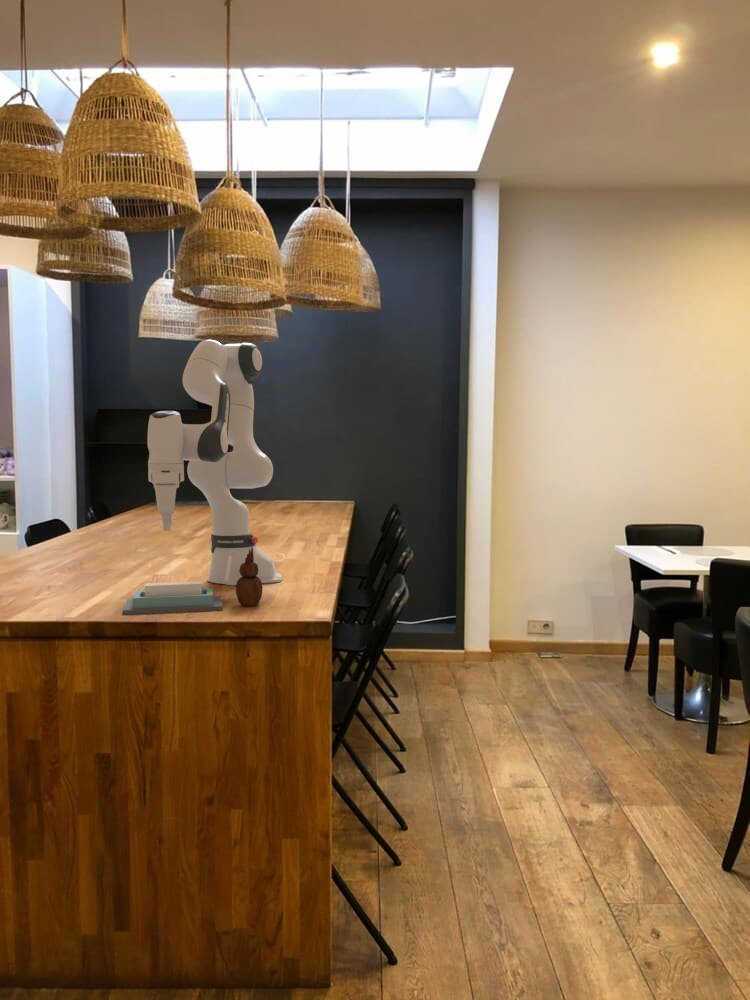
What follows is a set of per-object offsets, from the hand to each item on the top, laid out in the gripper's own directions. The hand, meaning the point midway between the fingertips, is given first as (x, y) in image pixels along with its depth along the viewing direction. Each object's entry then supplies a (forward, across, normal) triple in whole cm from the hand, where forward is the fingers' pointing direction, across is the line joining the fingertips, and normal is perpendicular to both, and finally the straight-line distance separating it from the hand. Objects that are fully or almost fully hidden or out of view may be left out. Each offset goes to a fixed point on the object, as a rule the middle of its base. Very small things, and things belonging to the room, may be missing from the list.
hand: (167, 528), depth 196 cm
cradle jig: (+20, +3, +1) cm, 20 cm away
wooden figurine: (+20, +5, +20) cm, 29 cm away
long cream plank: (+19, +3, +1) cm, 19 cm away
